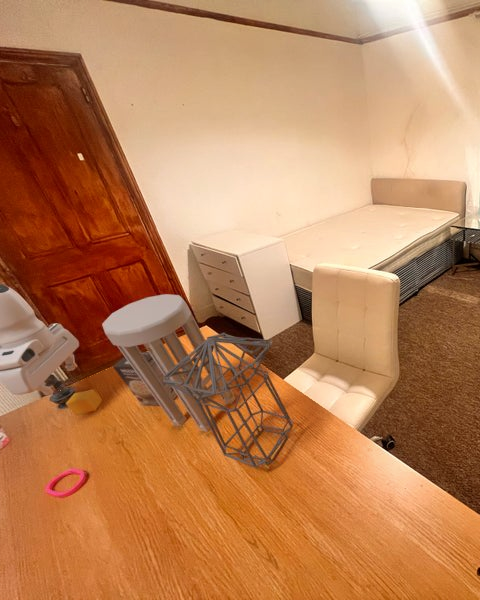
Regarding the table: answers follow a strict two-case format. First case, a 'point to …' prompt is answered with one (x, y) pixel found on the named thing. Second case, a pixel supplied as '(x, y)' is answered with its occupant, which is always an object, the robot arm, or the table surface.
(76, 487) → the fitness band
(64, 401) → the dark gray tiered ornament
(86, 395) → the yellow block
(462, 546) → the table surface
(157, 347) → the stool
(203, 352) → the geometric lantern
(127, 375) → the coffee box
